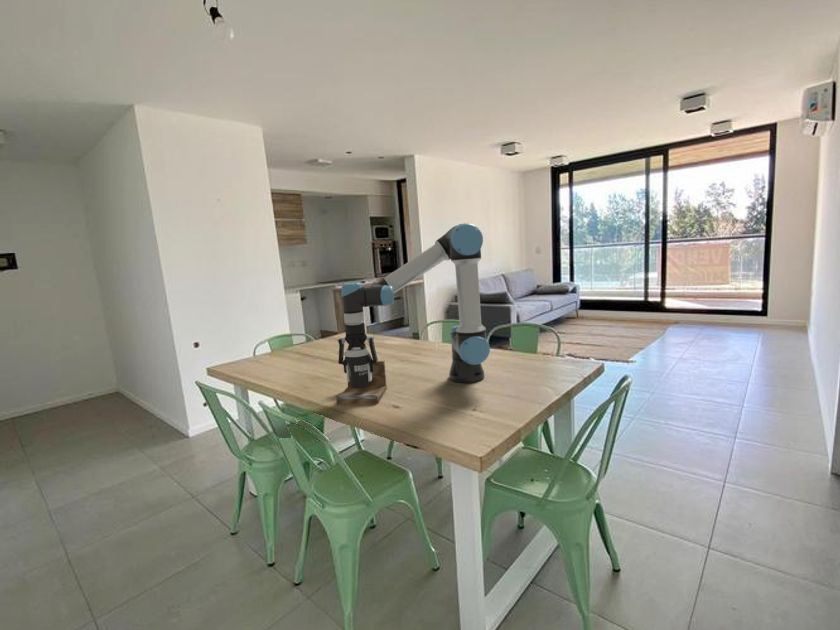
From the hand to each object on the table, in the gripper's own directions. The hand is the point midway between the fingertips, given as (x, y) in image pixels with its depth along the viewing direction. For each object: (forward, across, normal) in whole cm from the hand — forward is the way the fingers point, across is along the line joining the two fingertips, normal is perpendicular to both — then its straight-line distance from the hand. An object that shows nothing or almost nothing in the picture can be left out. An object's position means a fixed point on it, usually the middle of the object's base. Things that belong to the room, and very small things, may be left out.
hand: (359, 380), depth 165 cm
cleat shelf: (+7, 0, -3) cm, 8 cm away
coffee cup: (+2, 0, 0) cm, 2 cm away
